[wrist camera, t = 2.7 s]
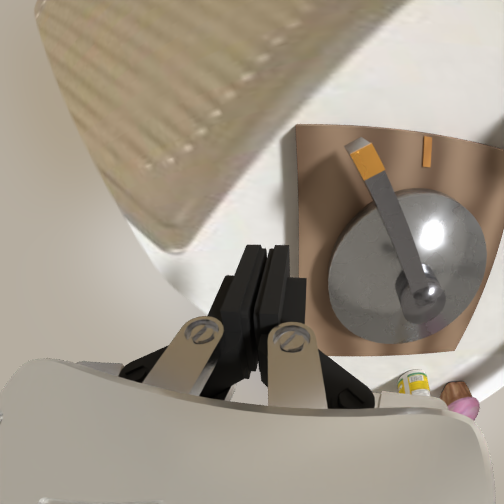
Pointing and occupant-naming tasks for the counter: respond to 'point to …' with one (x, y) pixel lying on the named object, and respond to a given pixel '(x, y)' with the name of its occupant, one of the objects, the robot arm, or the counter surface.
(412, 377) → the supplement bottle
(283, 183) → the counter surface
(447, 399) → the cupcake
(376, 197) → the dial
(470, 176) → the dial base
